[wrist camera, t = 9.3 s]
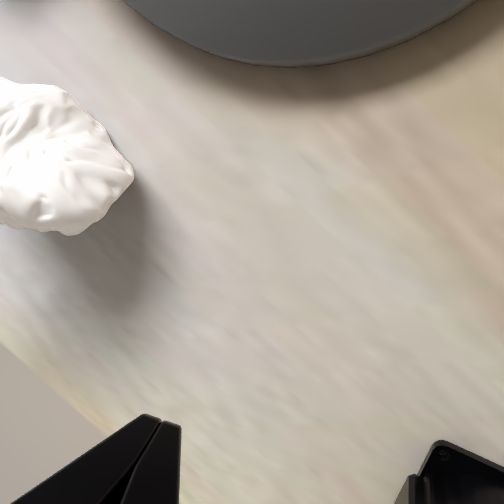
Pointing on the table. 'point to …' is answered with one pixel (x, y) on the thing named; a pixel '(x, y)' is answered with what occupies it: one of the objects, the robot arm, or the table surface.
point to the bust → (54, 161)
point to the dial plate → (296, 26)
